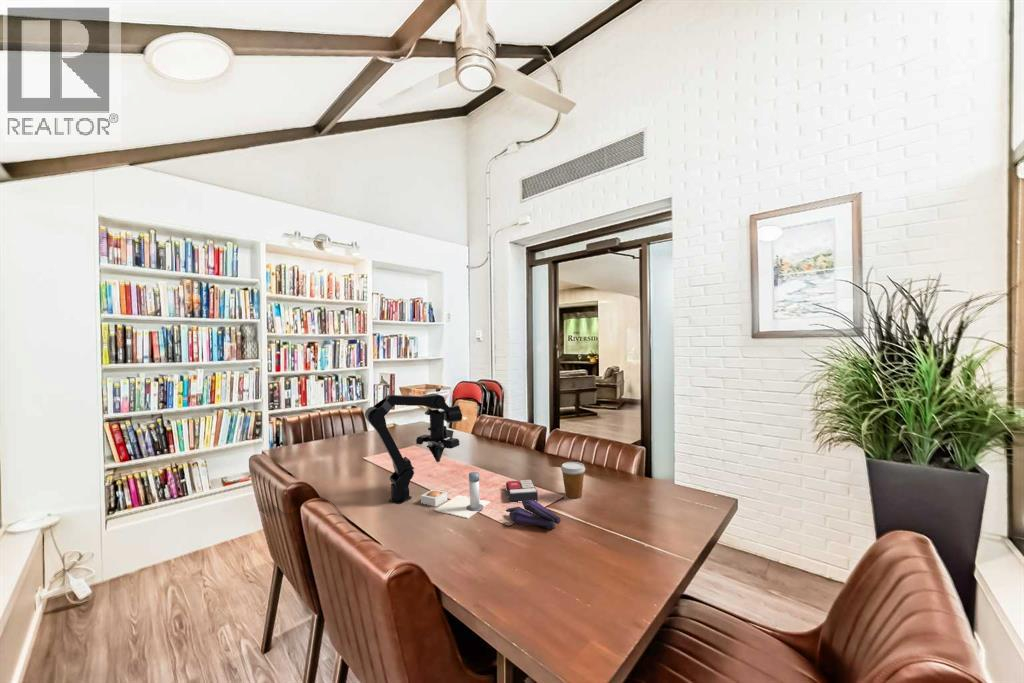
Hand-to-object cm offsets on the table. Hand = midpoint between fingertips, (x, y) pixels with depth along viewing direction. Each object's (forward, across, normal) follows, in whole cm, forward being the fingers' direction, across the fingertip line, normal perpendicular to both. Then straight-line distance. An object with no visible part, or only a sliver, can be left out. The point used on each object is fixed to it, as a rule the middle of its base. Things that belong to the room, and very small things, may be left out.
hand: (438, 461), depth 168 cm
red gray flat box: (+13, -33, -11) cm, 37 cm away
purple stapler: (+12, -47, +9) cm, 49 cm away
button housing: (+12, -6, +10) cm, 16 cm away
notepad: (+12, -18, +8) cm, 24 cm away
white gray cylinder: (+12, -24, +8) cm, 27 cm away
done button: (+11, -5, +9) cm, 16 cm away
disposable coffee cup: (+12, -52, -19) cm, 57 cm away
